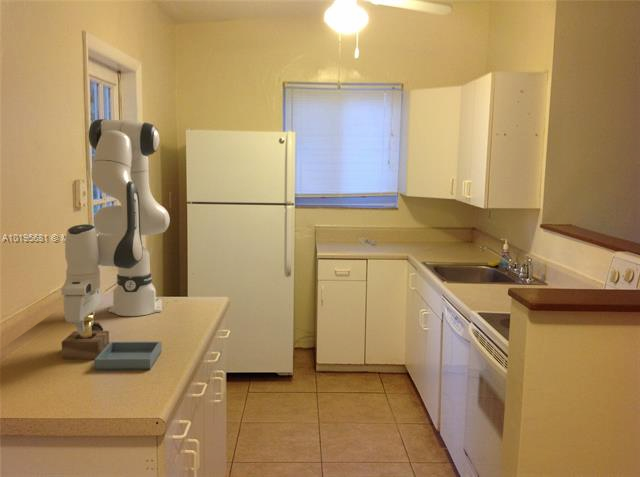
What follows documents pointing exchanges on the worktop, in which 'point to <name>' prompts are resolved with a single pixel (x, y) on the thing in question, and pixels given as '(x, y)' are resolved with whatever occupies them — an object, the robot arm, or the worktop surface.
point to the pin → (87, 327)
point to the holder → (84, 345)
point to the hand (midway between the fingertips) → (85, 329)
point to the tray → (128, 356)
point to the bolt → (96, 327)
